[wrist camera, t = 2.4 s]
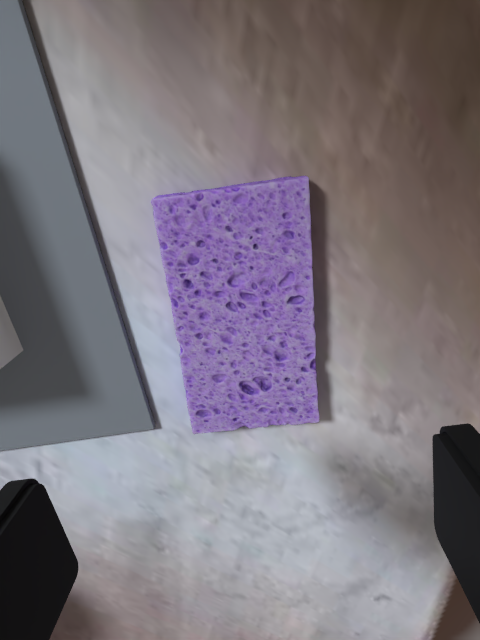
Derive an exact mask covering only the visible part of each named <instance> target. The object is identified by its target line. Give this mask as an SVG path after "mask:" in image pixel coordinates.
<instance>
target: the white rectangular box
mask: <svg viewBox="0 0 480 640" xmlns="http://www.w3.org/2000/svg"><path fill="white" fill-rule="evenodd" d="M22 351H23V348H22V345H21V343H20V341H19V338H18V336H17V334H16V331H15V329H14V327H13V324H12V322H11V320H10V317H9V315H8V312H7V310H6V308H5V305H4V303H3V301H2V298H1V296H0V369H1V368H2V367H4V366H5V365H6V364H7V363H9V362H10V361H11V360H12V359H13V358H15V357H16V356H17V355H18V354H19V353H21V352H22Z"/></svg>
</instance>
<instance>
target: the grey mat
mask: <svg viewBox="0 0 480 640" xmlns="http://www.w3.org/2000/svg"><path fill="white" fill-rule="evenodd" d="M0 296H1V298H2V301H3V303H4V305H5V308H6V310H7V312H8V315H9V317H10V320H11V322H12V324H13V327H14V329H15V331H16V334H17V336H18V338H19V341H20V343H21V345H22V348H23V351H22V352H21V353H19V354H18V355H17V356H16V357H15V358H13V359H12V360H11V361H10V362H9V363H7V364H6V365H5V366H4V367H2V368H1V369H0V451H2V450H9V449H17V448H24V447H31V446H38V445H45V444H52V443H59V442H66V441H73V440H80V439H87V438H94V437H101V436H108V435H116V434H123V433H130V432H137V431H144V430H151V429H154V427H155V422H154V419H153V415H152V412H151V409H150V406H149V403H148V400H147V396H146V393H145V390H144V387H143V384H142V380H141V377H140V374H139V371H138V368H137V365H136V361H135V358H134V355H133V352H132V349H131V346H130V342H129V339H128V336H127V333H126V330H125V326H124V323H123V320H122V317H121V314H120V311H119V307H118V304H117V301H116V298H115V295H114V291H113V288H112V285H111V282H110V279H109V276H108V272H107V269H106V266H105V263H104V260H103V256H102V253H101V250H100V247H99V244H98V241H97V237H96V234H95V231H94V228H93V225H92V222H91V218H90V215H89V212H88V209H87V206H86V202H85V199H84V196H83V193H82V190H81V187H80V183H79V180H78V177H77V174H76V171H75V167H74V164H73V161H72V158H71V155H70V152H69V148H68V145H67V142H66V139H65V136H64V133H63V129H62V126H61V123H60V120H59V117H58V113H57V110H56V107H55V104H54V101H53V98H52V94H51V91H50V88H49V85H48V82H47V78H46V75H45V72H44V69H43V66H42V63H41V59H40V56H39V53H38V50H37V47H36V43H35V40H34V37H33V34H32V31H31V28H30V24H29V21H28V18H27V15H26V12H25V9H24V5H23V2H22V0H0Z"/></svg>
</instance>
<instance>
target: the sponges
mask: <svg viewBox="0 0 480 640" xmlns="http://www.w3.org/2000/svg"><path fill="white" fill-rule="evenodd" d="M151 203H152V206H153V208H154V213H153V215H154V219H155V225H156V229H157V235H158V238H159V244H160V249H161V255H162V262H163V266H164V271H165V274H166V282H167V286H168V290H169V296H170V299H171V303H172V313H173V318H174V326H175V330H176V336H177V341H178V342H179V343H180V348H181V353H180V358H181V366H182V374H183V380H184V387H185V389H186V397H187V405H188V411H189V415H190V420H191V426H192V431H193V434H197V433H208V432H221V431H230V430H236V429H238V428H239V427H242V426H247V427H248V428H250V429H252V428H257V427H268V426H270V425H281V424H283V425H286V424H291V425H298V424H304V423H318V422H319V410H318V390H317V382H316V377H317V372H316V361H315V357H316V348H315V344H316V343H315V339H316V333H315V328H314V322H315V321H314V315H315V314H314V292H313V271H312V243H311V215H310V190H309V178H308V177H307V176H299V177H283V178H277V179H272V180H267V181H258V182H250V183H243V184H238V185H231V186H226V187H220V188H215V189H206V190H197V191H192V192H188V193H173V194H166V195H158V196H156V197H155V198H153V199H152V200H151Z"/></svg>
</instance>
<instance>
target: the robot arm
mask: <svg viewBox="0 0 480 640" xmlns="http://www.w3.org/2000/svg"><path fill="white" fill-rule="evenodd" d="M433 483H434V525H435V530H436V534H437V537H438V540H439V542H440V544H441V546H442V548H443V550H444V552H445V554H446V556H447V558H448V560H449V562H450V564H451V566H452V568H453V570H454V572H455V574H456V576H457V578H458V580H459V582H460V584H461V586H462V588H463V590H464V592H465V594H466V596H467V598H468V600H469V602H470V605H471V606H472V609H473V611H474V612H475V615H476V616H477V619H478V621H479V623H480V434H479V433H478V432H477V431H476V429H475V428H474V427H473V426H472V425H471V424H460V425H452V426H444V427H441V429H440V434H435V435H434V436H433ZM77 573H78V561H77V558H76V556H75V554H74V552H73V549H72V547H71V545H70V543H69V541H68V538H67V536H66V534H65V532H64V529H63V527H62V525H61V523H60V520H59V518H58V516H57V514H56V511H55V509H54V507H53V505H52V502H51V500H50V498H49V496H48V494H47V491H46V489H45V487H44V486H43V485H42V484H39V483H38V481H37V480H35V479H25V480H17V481H10V482H8V483H7V484H6V485H5V486H4V487H3V488H2V489H1V490H0V640H49V638H50V636H51V634H52V632H53V629H54V627H55V625H56V623H57V620H58V618H59V616H60V613H61V611H62V609H63V607H64V604H65V602H66V600H67V598H68V595H69V593H70V591H71V589H72V586H73V584H74V582H75V580H76V577H77Z"/></svg>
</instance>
